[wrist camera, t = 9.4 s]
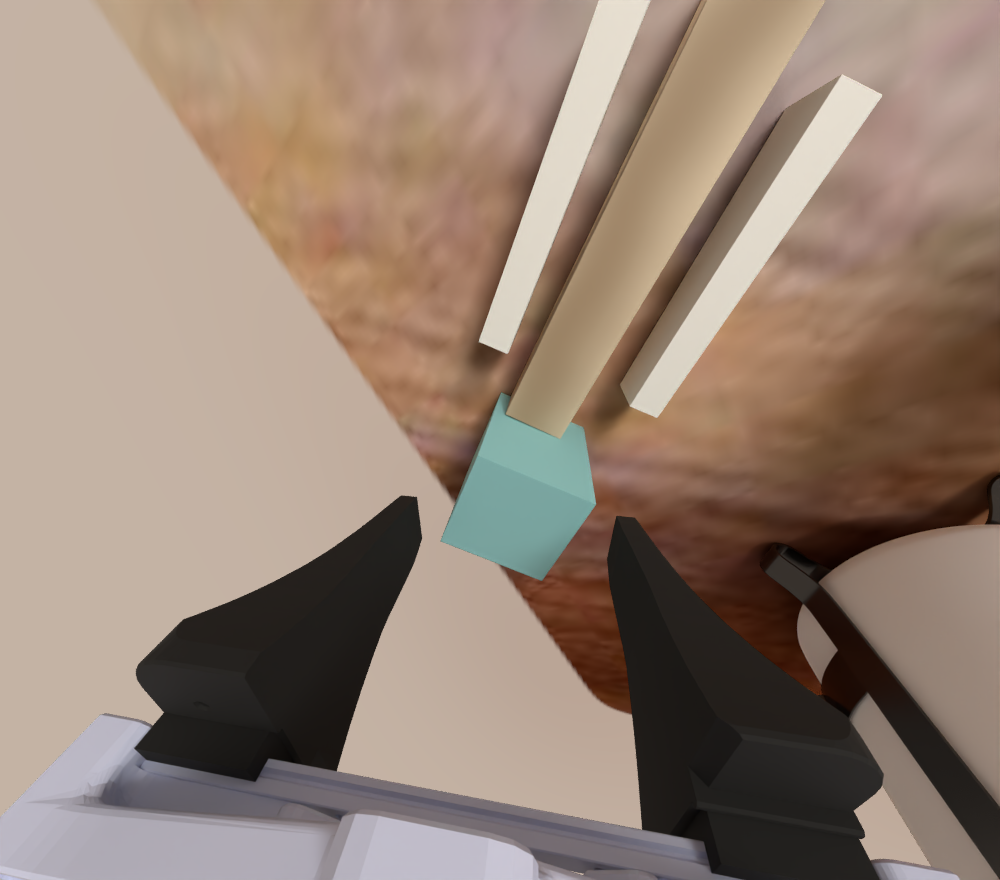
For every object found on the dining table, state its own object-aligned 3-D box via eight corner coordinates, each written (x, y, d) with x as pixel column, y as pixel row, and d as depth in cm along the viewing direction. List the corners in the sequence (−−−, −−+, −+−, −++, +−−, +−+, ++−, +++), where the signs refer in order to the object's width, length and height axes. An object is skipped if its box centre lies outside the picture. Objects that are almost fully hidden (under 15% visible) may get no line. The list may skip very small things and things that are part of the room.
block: (583, 427, 17) (596, 504, 12) (545, 491, 19) (541, 581, 14) (501, 392, 17) (477, 455, 12) (471, 461, 19) (440, 541, 14)
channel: (818, 125, 11) (882, 94, 9) (643, 395, 16) (657, 417, 14) (602, 16, 11) (614, -43, 9) (489, 328, 16) (478, 341, 13)
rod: (777, 37, 11) (837, -20, 8) (559, 414, 17) (560, 439, 15) (703, -6, 10) (744, -76, 8) (512, 392, 17) (505, 414, 15)
